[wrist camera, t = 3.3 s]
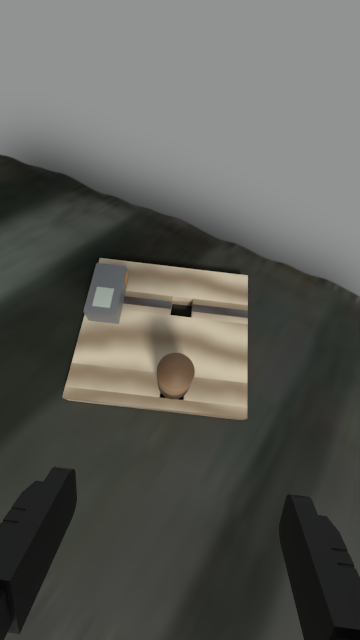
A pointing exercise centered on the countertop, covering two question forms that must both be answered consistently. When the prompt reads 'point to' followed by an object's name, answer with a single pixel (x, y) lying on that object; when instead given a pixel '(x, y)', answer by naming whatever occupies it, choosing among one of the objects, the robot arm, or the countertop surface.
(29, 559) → the robot arm
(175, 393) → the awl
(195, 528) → the countertop surface
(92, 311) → the block
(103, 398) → the board
